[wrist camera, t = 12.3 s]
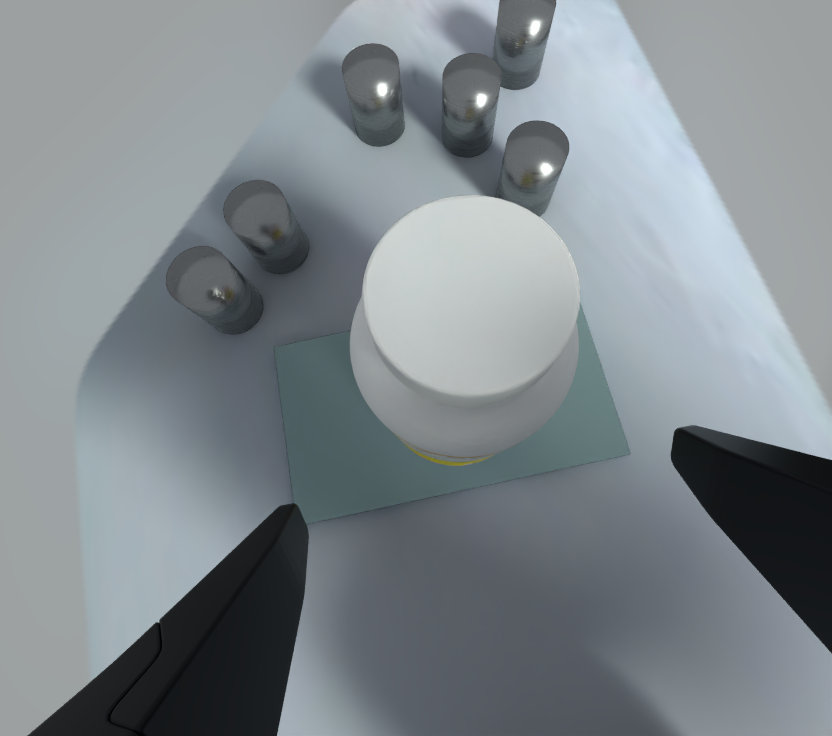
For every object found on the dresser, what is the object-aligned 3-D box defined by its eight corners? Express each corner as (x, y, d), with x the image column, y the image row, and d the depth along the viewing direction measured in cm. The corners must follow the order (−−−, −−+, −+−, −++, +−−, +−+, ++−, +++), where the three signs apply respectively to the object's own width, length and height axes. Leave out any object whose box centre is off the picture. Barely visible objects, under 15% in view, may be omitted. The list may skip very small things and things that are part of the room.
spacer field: (607, 254, 24) (640, 209, 20) (211, 339, 24) (167, 311, 20) (532, 47, 28) (547, -24, 24) (192, 119, 28) (152, 60, 24)
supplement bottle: (406, 322, 23) (366, 129, 10) (533, 351, 22) (652, 181, 10) (370, 447, 21) (273, 397, 9) (505, 484, 21) (604, 483, 8)
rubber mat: (625, 454, 21) (630, 454, 21) (300, 525, 21) (296, 526, 21) (570, 287, 24) (573, 282, 23) (277, 350, 24) (273, 347, 23)
